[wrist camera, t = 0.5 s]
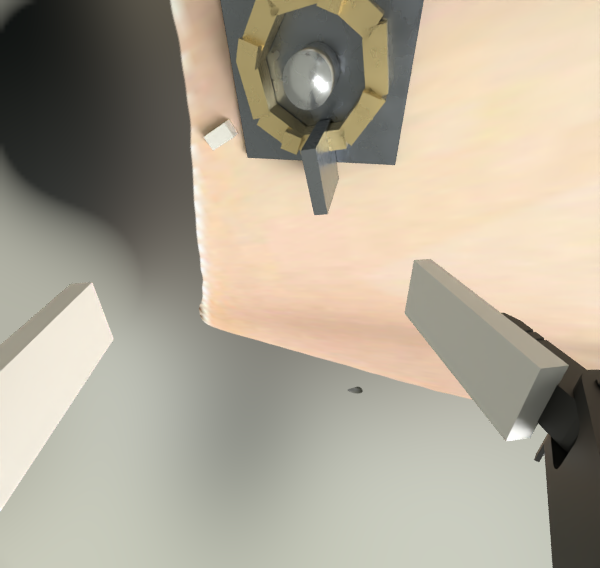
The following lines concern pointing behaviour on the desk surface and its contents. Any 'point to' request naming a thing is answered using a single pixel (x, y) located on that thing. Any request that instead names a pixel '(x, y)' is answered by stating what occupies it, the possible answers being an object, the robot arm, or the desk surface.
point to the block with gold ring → (324, 135)
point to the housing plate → (349, 80)
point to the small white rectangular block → (221, 134)
